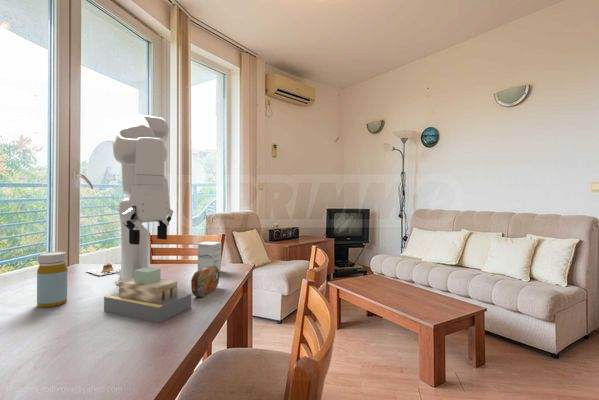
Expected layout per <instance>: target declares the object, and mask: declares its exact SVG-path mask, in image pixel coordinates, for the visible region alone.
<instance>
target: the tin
mask: <svg viewBox="0 0 599 400" xmlns="http://www.w3.org/2000/svg"><path fill="white" fill-rule="evenodd" d="M192 275H193V276H192V277H191V280H190V283H191V284H190V286H191V287H190V288H191V295H193V296H194V297H198V298H199V297H200V298H205V297H206V296H207V295H209V294H211V293H212V292H213V291H215V290H216V289H217V288H218V285H219V283H220V282H219V281H220V271H218V268H217V267H216V266H207V267H205V268H203V269H201V270H199V271H198V270H197V271H195V272H194V274H192Z"/></svg>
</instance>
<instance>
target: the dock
mask: <svg viewBox="0 0 599 400" xmlns="http://www.w3.org/2000/svg"><path fill="white" fill-rule="evenodd" d="M103 299H104V300H103V312H106V313H111V314H114V315H119V316H124V317H129V318H133V319H139V320H141V321H142V320H143V321H147V322H151V323H156V324H160V323H162V322H164V321H166V320H168V319H171V318H173V317H174V316H177V315H179V314H181V313H183V312H185V311H186V310H189V309H191V308H192V293H188V292H182V291H181V292H180V291H177V295H175V296H173V297H172V296H170V298H168V299H166V300H163V299H162V301H161V302H158V303H154V302H148V301H143V300H138V299H132V298H127V297H121V296H119V292H116V293H112V294H109V295H105V296H103Z"/></svg>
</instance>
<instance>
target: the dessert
mask: <svg viewBox="0 0 599 400" xmlns="http://www.w3.org/2000/svg"><path fill="white" fill-rule="evenodd" d="M113 266H114V265H113V264H112V263H111V261H107V263H106V264H104V265H102V267H101V268H94V269H90V270H85V272H86V273H90V274H92V275H96V276H98V275H99V277H103V276H102V275H104V276H108V275H107V274H109V275H113V274H112V273H114V274H116V271H115V270H114V269H115V268H113ZM115 266H116V267H118V268H121V266H118V265H115ZM99 269H102V270H101V273H102V272H110V271H113V270H114V272H110V273H102V274H97V273H94V272H96V271H95V270H99ZM89 271H94V272H89ZM99 271H100V270H99Z"/></svg>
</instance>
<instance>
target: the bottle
mask: <svg viewBox="0 0 599 400" xmlns="http://www.w3.org/2000/svg"><path fill="white" fill-rule="evenodd" d="M66 252H67V251H49V252H41V253H40V254H39V255H38V264H39V265H38V268H37V271H36V305H37V306H38V307H40V308H42V309H43V308H52V307H53V308H54V307H58V306H62V305H63V304H65V303H66V302H67V301H68V266H67V260H66V259H67V253H66Z"/></svg>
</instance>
